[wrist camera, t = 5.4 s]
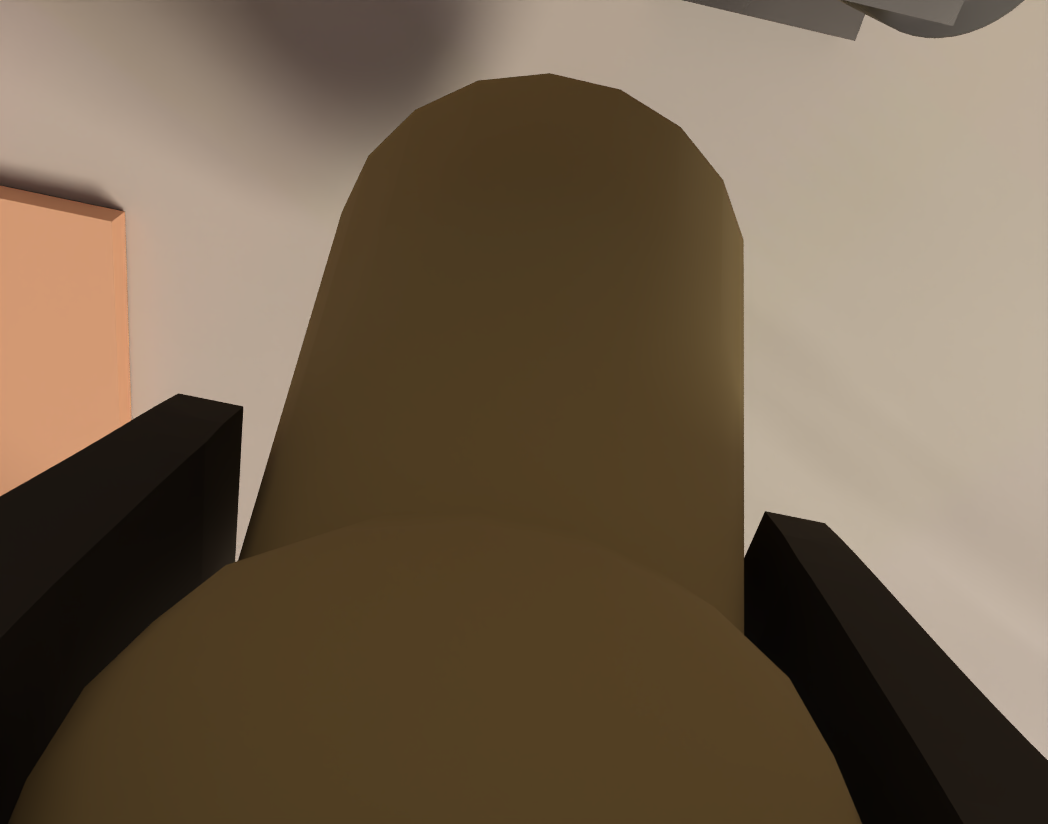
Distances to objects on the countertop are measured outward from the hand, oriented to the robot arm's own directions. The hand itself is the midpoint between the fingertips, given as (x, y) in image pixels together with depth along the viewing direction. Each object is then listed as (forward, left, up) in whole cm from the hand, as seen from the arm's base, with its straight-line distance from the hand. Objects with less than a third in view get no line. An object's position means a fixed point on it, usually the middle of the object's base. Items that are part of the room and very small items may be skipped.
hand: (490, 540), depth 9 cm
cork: (0, 0, -6) cm, 6 cm away
